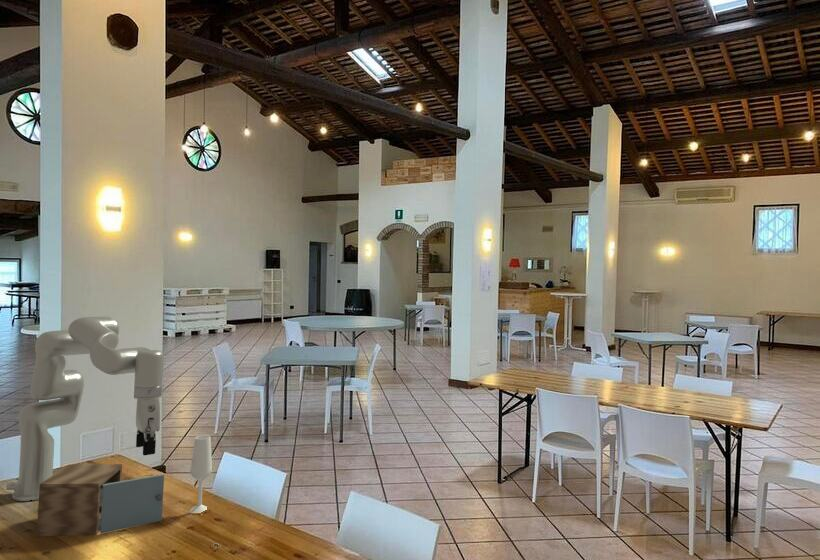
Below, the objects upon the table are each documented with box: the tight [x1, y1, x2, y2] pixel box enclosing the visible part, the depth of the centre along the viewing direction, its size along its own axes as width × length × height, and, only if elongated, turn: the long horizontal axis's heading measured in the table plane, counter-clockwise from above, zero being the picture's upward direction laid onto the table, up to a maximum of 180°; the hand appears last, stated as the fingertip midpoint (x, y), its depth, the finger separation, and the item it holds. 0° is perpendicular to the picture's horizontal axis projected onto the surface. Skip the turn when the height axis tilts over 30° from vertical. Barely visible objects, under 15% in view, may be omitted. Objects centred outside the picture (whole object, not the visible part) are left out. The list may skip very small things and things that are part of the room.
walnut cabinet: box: [36, 463, 123, 537], centre depth 161 cm, size 16×17×15 cm
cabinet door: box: [98, 473, 165, 535], centre depth 159 cm, size 2×17×14 cm, turn 128°
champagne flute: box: [189, 434, 213, 514], centre depth 173 cm, size 7×7×24 cm
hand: (145, 450), depth 156 cm, fingers open, 8 cm apart
